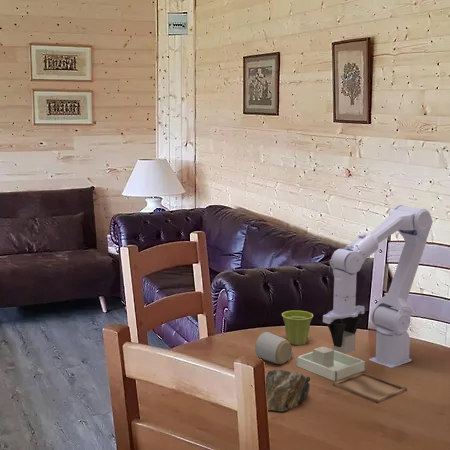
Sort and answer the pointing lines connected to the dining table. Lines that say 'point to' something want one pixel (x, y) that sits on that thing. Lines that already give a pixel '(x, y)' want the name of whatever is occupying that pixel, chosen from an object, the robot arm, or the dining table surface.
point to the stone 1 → (323, 356)
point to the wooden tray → (370, 387)
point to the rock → (285, 389)
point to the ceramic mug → (273, 348)
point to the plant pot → (297, 326)
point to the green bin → (340, 370)
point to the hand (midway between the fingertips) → (343, 344)
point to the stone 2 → (347, 343)
